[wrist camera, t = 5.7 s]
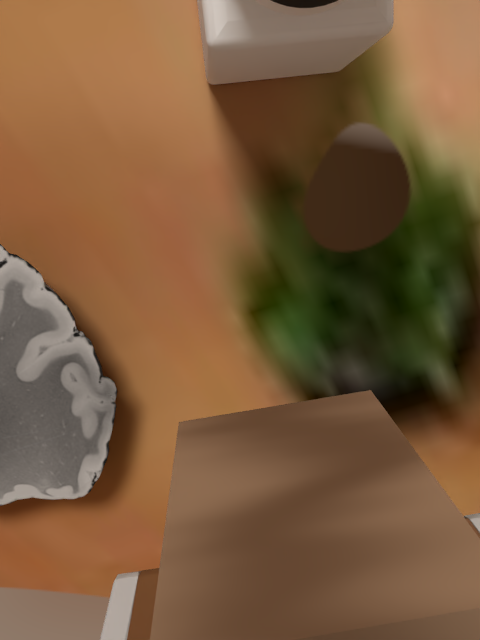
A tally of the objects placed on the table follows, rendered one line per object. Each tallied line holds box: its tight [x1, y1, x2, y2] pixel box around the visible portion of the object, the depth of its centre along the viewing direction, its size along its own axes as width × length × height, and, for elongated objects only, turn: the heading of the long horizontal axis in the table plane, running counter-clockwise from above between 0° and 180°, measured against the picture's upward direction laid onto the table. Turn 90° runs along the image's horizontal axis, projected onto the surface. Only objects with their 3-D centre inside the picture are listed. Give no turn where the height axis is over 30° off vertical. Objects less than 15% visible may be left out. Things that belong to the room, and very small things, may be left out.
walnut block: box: [150, 390, 480, 640], centre depth 9 cm, size 5×5×6 cm
